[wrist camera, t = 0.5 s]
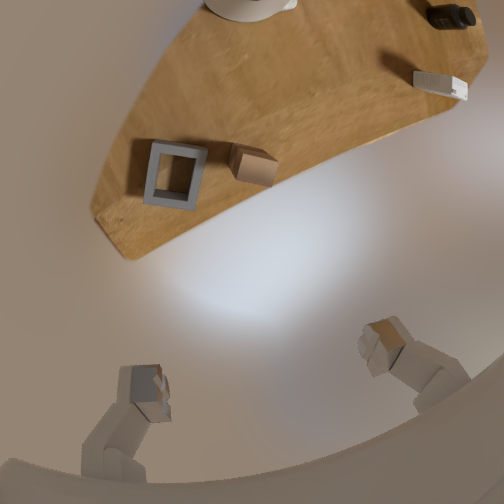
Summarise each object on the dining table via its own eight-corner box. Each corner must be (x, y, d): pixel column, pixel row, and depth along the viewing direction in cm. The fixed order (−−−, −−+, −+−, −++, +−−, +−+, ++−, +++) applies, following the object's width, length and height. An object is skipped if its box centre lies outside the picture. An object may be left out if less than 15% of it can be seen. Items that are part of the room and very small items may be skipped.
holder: (155, 138, 41) (152, 142, 38) (206, 147, 44) (208, 151, 41) (146, 195, 46) (143, 203, 43) (194, 202, 49) (194, 211, 46)
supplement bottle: (446, 29, 35) (481, 30, 25) (431, 30, 35) (468, 30, 25) (437, 6, 31) (472, 4, 21) (421, 5, 31) (458, 1, 22)
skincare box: (429, 76, 42) (468, 82, 32) (429, 93, 45) (467, 101, 35) (412, 70, 41) (452, 73, 31) (411, 88, 44) (452, 94, 34)
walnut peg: (232, 142, 45) (243, 153, 36) (262, 149, 46) (279, 162, 38) (227, 163, 47) (236, 180, 38) (256, 170, 48) (271, 187, 40)
